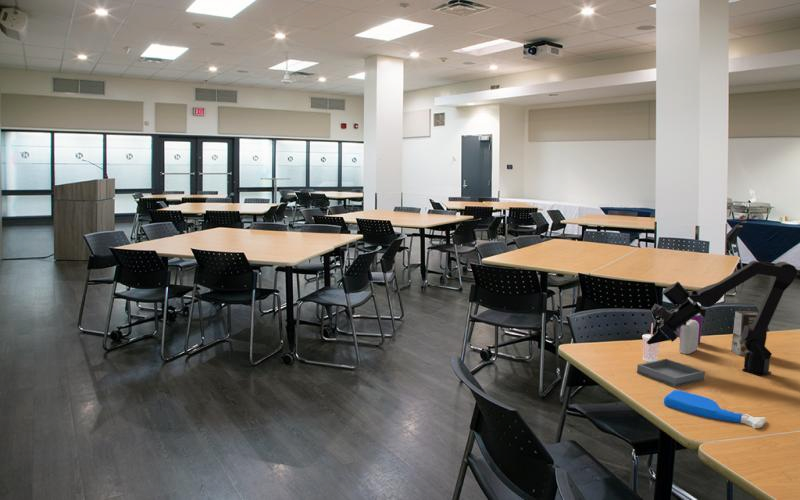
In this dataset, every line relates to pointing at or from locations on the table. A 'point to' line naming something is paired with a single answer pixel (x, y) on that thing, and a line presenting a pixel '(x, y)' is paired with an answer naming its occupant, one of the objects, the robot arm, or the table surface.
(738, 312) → the coffee box
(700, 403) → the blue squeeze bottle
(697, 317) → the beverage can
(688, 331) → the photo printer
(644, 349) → the beverage cup
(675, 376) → the tray
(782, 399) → the table surface
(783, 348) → the table surface
